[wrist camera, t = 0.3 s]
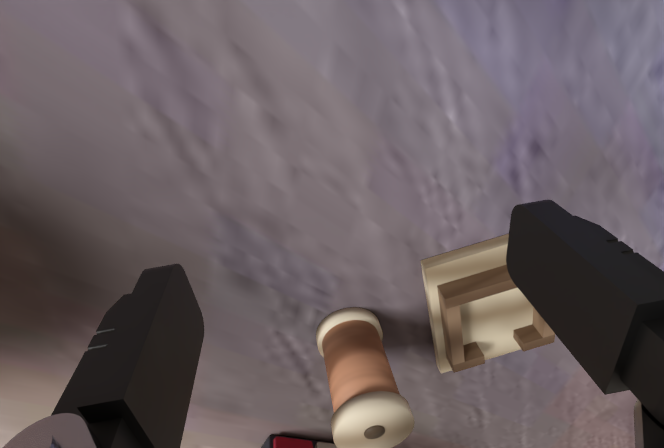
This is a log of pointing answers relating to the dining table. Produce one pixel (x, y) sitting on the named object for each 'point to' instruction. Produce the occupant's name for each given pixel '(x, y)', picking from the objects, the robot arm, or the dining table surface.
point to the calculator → (294, 443)
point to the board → (478, 307)
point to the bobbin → (361, 382)
